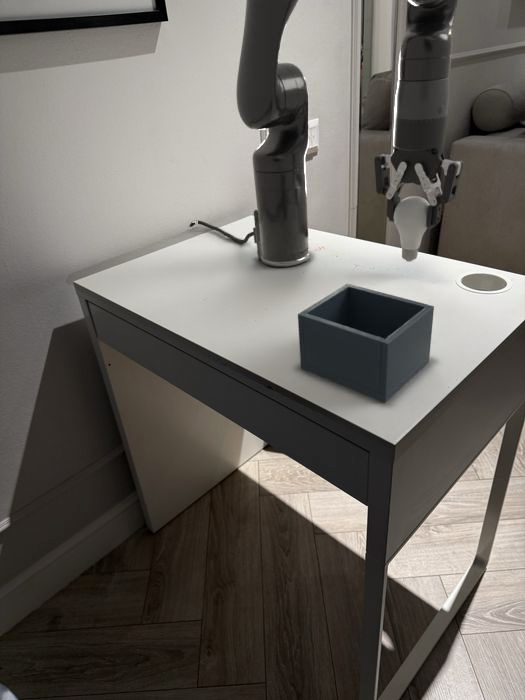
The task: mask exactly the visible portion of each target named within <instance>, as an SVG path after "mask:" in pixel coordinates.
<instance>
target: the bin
mask: <svg viewBox="0 0 525 700" xmlns="http://www.w3.org/2000/svg"><path fill="white" fill-rule="evenodd" d="M434 311H435V306H434V305H430V304H427V303H424V302H420V301H416V300H413V299H408V298H404V297H401V296H396V295H393V294H390V293H386V292H382V291H378V290H374V289H370V288H367V287H362V286H358V285H355V284H352V283H346V284H343V285H342V286H341V287H339V288H337V289H336V290H334V291H332V292H331V293H329V294H328V295H326V296H325V297H323V298H321V299H320V300H318V301H316V302H315V303H313V304H311V305H310V306H309V307H307V308H305V309H303V310H302V311H300V312H299V313H297V325H298V327H297V328H298V340H299V341H298V342H299V343H298V345H299V359H300V369H302V370H304V371H307V372H309V373H312V374H315V375H317V376H319V377H322V378H324V379H327V380H329V381H331V382H334V383H336V384H339V385H341V386H343V387H347V388H349V389H351V390H353V391H356V392H359V393H361V394H363V395H365V396H367V397H371V398H373V399H375V400H377V401H381V402H383V403H386V402H388V401H389V400H390V399H391V398H392V397H393V396H395V394H396V393H398V392H399V390H400V389H402V388H403V387H404V386H405V385H406V384H407V383H408V382H409V381H411V379H412V378H413V377H415V376H416V375H417V374H418V373H419V372H420V371H421V370H422V369H423V368H424V367H425V366H426V365H427V364H428V363H429V362H430V358H431V357H430V356H431V355H430V353H431V344H432V334H433V322H434V313H435V312H434Z"/></svg>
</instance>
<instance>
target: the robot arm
mask: <svg viewBox="0 0 525 700" xmlns="http://www.w3.org/2000/svg"><path fill="white" fill-rule="evenodd" d="M458 2H459V0H406V14H405V15H406V16H405V31H404V34H403V37H402V39H401V43H400V50H399V56H398V57H399V58H398V59H399V60H398V75H397V77H398V78H397V79H398V80H397V87H396V92H395V99H394V109H393V110H394V118H393V137H392V146H393V151H392V153H391V154H388V153H386V152H384V153H382V154H379V155H377V156H375V157H374V159H373V161H374V162H373V163H374V176H375V177H374V178H375V190H376V193H377V194H378V195H383V196H385V198H386V199H387V201H386V217H387V218H388V222H391V223H395V222H394V211H395V209H396V206H397V205H398V204H399V203H400V202H401V196H399V195H400V194H401V193H402V190H403V188H404V186H405V185H406V184H415V185H416V186H421V187H422V191H423V192H424V193H425V194H426V197H427V199H428V200H427V201H428V203H429V204H430V205H429V206H428V215H427V226H426V227H427V229H433V228H434V227H436V225H438V224H439V223H440V221H441V217H442V209H443V208H442V207H443V204H447V203H450V201H452V200H454V199H455V198H456V195H457V192H458V187H459V184H460V180H461V176H462V171H463V169H464V168H463V167H464V161H463V160H462V159H457V160H452V159H451V160H450V159H447V158H446V157H445V155H444V147H445V142H446V133H447V122H448V112H449V104H450V103H449V102H450V75H451V65H452V55H453V31H454V26H455V20H456V15H457V9H458ZM298 3H299V0H246V4H245V16H244V27H243V35H242V42H241V50H240V55H239V56H240V57H239V64H238V70H237V78H236V88H235V89H236V91H235V93H236V107H237V111H238V114H239V118H240V119H241V121H242V122H243V124H244V125H245V126H246V127H247V128H249V129H251V130H255V131H261V130H268V131H267V135H266V138H265V139H264V140H263V142H262V143H261V144H260V145H259V147H257V148H256V149H255V150H254V152H253V153H252V168H253V169H252V170H253V179H254V180H253V182H254V189H255V200H256V209H254V210H253V220H254V221H253V222H254V226H253V227H252V232H248V233H247V234H246V235H245V237H244V238H243V239H242V238H241V239H240V238H237V237H236V236H234V235H232V234H230V233H229V232H226V231H225V230H223V229H222V228H220V227H218V226H214V225H212V224H211V223H208V222H205V221H202V220H198V224H197V225H202V226H204V227H206V228H208V229H210V230H213V231H216V232H218V233H220V234H222V235H223V236H225V237H227V238H228V239H230V240H232V241H234V242H236V243H238V244H246V243H248V241H249V239H250V238H251V237H253V242H254V244H255V245H256V250H257V258H258V259H259V260H261V262H262V263H263V264H265V265H267V266H271V267H278V268H280V267H281V268H283V267H294V266H298V265H301V264H303V263H305V262H306V261H308V260H309V258H310V255H311V254H310V245H309V222H308V220H309V219H308V201H307V199H308V198H307V179H306V178H307V177H306V176H307V175H306V154H307V151H308V148H309V140H310V139H309V138H310V135H309V133H310V99H309V98H310V97H309V89H308V84H307V80H306V78H305V75H304V73H303V72H302V70H301V68H299V67H298V66H297V65H295V64H294V63H290V62H281V63H279V61H280V52H281V46H282V40H283V37H284V32H285V30H286V27H287V25H288V22H289V19H290V18H291V15H292V14H293V11H294V10H295V7H296V6H297V4H298ZM391 166H393V169H394V170H395V174H394V176H393V177H392V180H391V172H390V168H391ZM441 169H443V174H444V175H445V180H444V184H443V188H442V187H441V185H442V183H441V180H440V176H439V174H438V173H439V172H440V171H441ZM195 225H196V224H195V223H192V222H190V224H189V225H188V226H189V228H193V227H194V226H195Z"/></svg>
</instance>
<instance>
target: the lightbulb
mask: <svg viewBox="0 0 525 700" xmlns="http://www.w3.org/2000/svg"><path fill="white" fill-rule="evenodd" d="M429 205H430V203H429V200H427V199H425V198H423V197H422V196H419V195H417V196H416V195H411V196H407V197H405V198H404V199H402V200H400V203H399V204H398V205H397V206H396V209H395V211H394V222H393V223H394V225H395V227H396V229H397V231H398V233H399V237H400V246H401V258H402V259H403V260H405V261H406V262H407V263H411V262H413V261H414V260H416V259H417V258H418V253H419V248H420V247H421V243H422V238H423V236H424V234H425V233H426V231H427V230H428V228H427V227H426V226H427V215H428V206H429Z"/></svg>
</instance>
